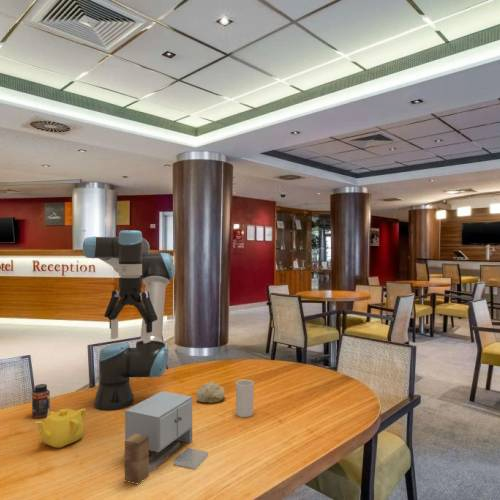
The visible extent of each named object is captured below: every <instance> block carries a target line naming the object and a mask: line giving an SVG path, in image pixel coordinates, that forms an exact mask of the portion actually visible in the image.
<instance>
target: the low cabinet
mask: <svg viewBox="0 0 500 500" xmlns="http://www.w3.org/2000/svg"><path fill="white" fill-rule="evenodd" d="M134 434H140V435H145V436H149V451H151V452H154V453H156V452H159V451H161V450H162V449H164V448H165V447H166V446H168V445H169V444H170V443H172V442H173V441H177V442H183V443H188V444H191V442H192V443H193V396H192V395H191V396H190V395H187V394H186V395H185V394H179V393H174V392H169V391H162V390H161V391H160V392H157V393H156V394H154V395H152V396H150V397H148V398H146V399H144V400H142V401H141V402H139V403H136V404H134V405H133V406H130V407H128V408H127V409H125V411H124V441H125V440H126V439H128V438H129V437H131V436H132V435H134Z"/></svg>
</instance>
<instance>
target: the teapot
mask: <svg viewBox="0 0 500 500" xmlns="http://www.w3.org/2000/svg"><path fill="white" fill-rule="evenodd" d="M86 413H87V409H86V408H80V409H78V410H75V409H71V408H62V409H59V410H58V411H52V410H50V412H48V413H47V416H46V417H45V420H44V421H40V420H39V421H34V424H36V425H38V426H39V429H38V430H39V435H40V437H41V440H42V442H43V443H44V444H45V445H48V446H50V447H53V448H59V449H60V448H64V447H65V446H68V445H70V444H73V443H74V442H77V441H78V440H80V439H81V438H83V436H84V434H85V423H84V419H85V416H86Z"/></svg>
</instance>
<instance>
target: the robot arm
mask: <svg viewBox="0 0 500 500" xmlns="http://www.w3.org/2000/svg"><path fill="white" fill-rule="evenodd" d="M82 253H83V255H84V257H85V258H86V259H99V260H100V261H102V262H104V263H106V264H108V265H109V266H110V267H112V268H113V270H114V271H115V272H116V273H117V274H118V276H119V277H118V288H119V289H117V290H112V291H111V297H110V300H109V302H108V305H107V308H106V310H105V313H104V317H105V318H107V319H108V320H109V329H110V340H116V339H118V338H119V318H118V316H119V314H120V313H121V312H122V310H123V309H124V307H125V306H128V305H129V306H134V307H135V308H136V309H137V310H138V313H139V314H140V316H141V317H142V320H141V321H142V322H141V330H140V338H139V339H138V340H137V341H136V343H135V347H131V345H130V343H129V342H127V343H126V342H120V343H114V344H110V345H107V346H105V347H103V348H101V349H100V350H99V355H98V356H99V358H98V378H99V379H98V387H97V391H96V394H95V398H94V399H93V401H94V407H95V408H96V409H98V410H103V411H113V410H114V411H115V410H121V409H124V408H127V407H128V408H129V406H130V407H131V405H133V404H134V403H135V395H134V393H133V390H132V387H131V383H130V378H151V379H152V378H159V377H162V376H164V373H165V372H166V369H167V366H168V362H169V361H168V360H169V348H168V347H166V343H165V342H164V341H163V339H162V338H163V326H164V325H163V324H164V315H165V312H164V311H165V300H166V287H167V286H168V285H169V284H170V282H171V281H170V280H172V279H174V277H175V275H174V274H175V273H174V262H173V258H172V255H171V254H170V253H167V252H166V253H165V252H150V243H149V242H148V241H147V239H145V237H143V233H142V231H140V230H124V229H123V230H120V231H119V233H118V236H87V237H85V238H84V240H83V242H82ZM143 284H144V285H145V290H144V292H142V288H143Z"/></svg>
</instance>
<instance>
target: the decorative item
mask: <svg viewBox="0 0 500 500" xmlns="http://www.w3.org/2000/svg"><path fill="white" fill-rule="evenodd" d="M225 395H226V389H225V388H224V387H223V386H220V384H218V383H217V382H216V381H209V382H206V383H205V384H203V385H201V387H199V389H198V390H197V393H196V400H197V401H198V402H200V403H209V404H212V403H213V404H215V403H219V402H221V401H223V400H224V398H225Z"/></svg>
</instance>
